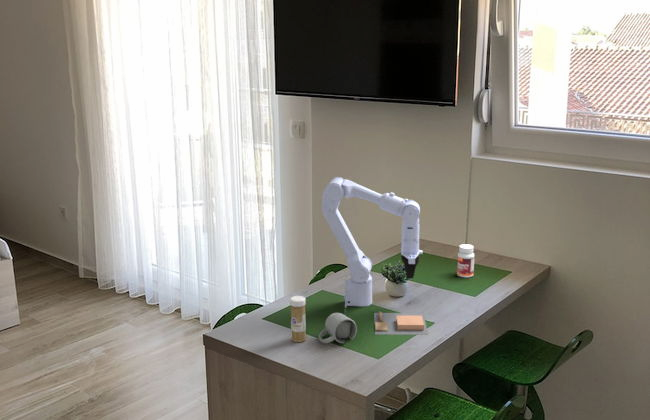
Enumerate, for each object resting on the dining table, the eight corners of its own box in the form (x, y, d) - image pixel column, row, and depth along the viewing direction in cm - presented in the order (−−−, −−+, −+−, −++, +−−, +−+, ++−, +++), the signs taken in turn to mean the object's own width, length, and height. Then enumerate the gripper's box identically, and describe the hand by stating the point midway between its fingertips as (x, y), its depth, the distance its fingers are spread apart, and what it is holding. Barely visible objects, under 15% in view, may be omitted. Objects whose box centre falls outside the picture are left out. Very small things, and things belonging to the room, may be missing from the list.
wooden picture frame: (396, 320, 219) (397, 329, 212) (396, 315, 218) (397, 324, 211) (421, 320, 218) (423, 330, 211) (422, 315, 218) (424, 324, 211)
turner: (375, 331, 211) (375, 327, 211) (374, 314, 223) (374, 311, 223) (387, 331, 211) (387, 327, 211) (385, 314, 223) (385, 311, 223)
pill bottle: (454, 276, 258) (455, 247, 255) (460, 271, 263) (461, 242, 260) (470, 278, 255) (471, 249, 252) (475, 273, 260) (477, 245, 257)
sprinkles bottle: (289, 341, 207) (287, 299, 204) (295, 335, 211) (293, 294, 208) (303, 343, 206) (301, 301, 202) (308, 337, 210) (307, 296, 206)
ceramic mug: (344, 330, 214) (344, 307, 212) (357, 340, 207) (357, 317, 205) (314, 338, 210) (313, 314, 208) (325, 348, 203) (325, 324, 201)
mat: (375, 336, 209) (375, 334, 209) (373, 315, 225) (373, 312, 224) (428, 336, 209) (428, 334, 208) (423, 315, 224) (423, 313, 224)
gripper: (424, 245, 217) (424, 285, 221) (420, 231, 231) (420, 269, 235) (402, 245, 218) (401, 285, 221) (399, 231, 232) (399, 269, 235)
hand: (409, 277), depth 228 cm, fingers closed
